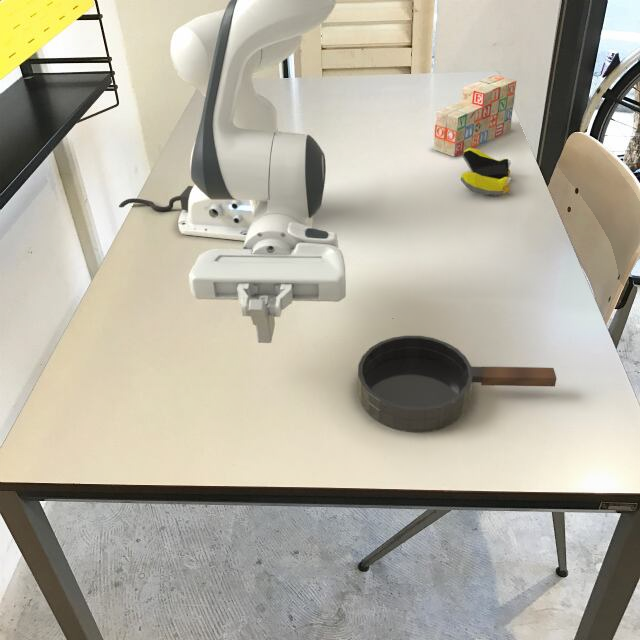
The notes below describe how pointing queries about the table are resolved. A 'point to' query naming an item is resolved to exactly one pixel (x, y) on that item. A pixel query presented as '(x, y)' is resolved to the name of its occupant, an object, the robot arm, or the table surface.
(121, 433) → the table surface
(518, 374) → the pan handle
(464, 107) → the stack of blocks
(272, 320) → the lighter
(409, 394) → the pan
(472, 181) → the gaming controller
